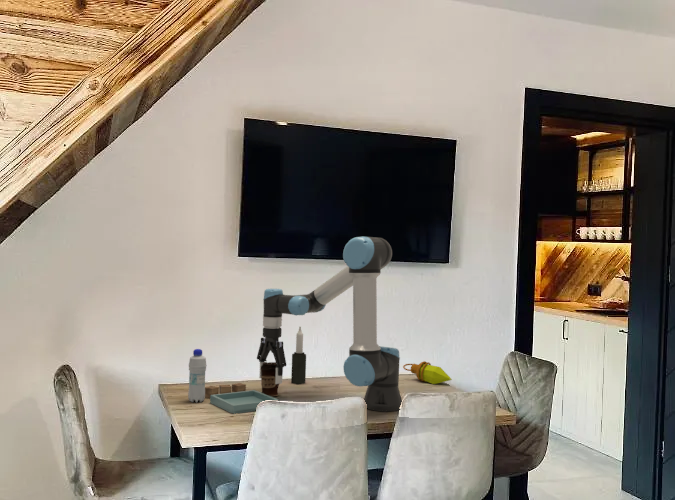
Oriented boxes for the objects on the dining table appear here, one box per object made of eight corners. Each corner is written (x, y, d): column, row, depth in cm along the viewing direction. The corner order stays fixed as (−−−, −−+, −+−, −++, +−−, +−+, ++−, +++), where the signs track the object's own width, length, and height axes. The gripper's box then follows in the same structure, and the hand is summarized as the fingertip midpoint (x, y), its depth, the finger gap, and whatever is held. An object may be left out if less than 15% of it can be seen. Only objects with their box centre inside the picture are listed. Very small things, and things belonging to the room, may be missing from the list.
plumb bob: (456, 385, 306) (408, 371, 320) (457, 366, 303) (409, 353, 318) (447, 392, 299) (398, 377, 313) (448, 374, 296) (399, 359, 311)
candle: (306, 383, 297) (308, 326, 297) (298, 384, 293) (299, 327, 293) (298, 381, 301) (300, 325, 300) (290, 382, 297) (291, 326, 297)
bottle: (196, 404, 253) (198, 351, 253) (183, 401, 256) (185, 349, 256) (209, 401, 258) (210, 348, 258) (196, 398, 262) (197, 347, 262)
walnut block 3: (245, 394, 272) (245, 384, 272) (237, 395, 269) (238, 385, 269) (239, 392, 275) (239, 382, 275) (231, 394, 272) (231, 384, 272)
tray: (279, 407, 251) (279, 399, 251) (233, 414, 240) (233, 405, 240) (254, 397, 267) (254, 390, 267) (210, 402, 255) (210, 395, 255)
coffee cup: (276, 398, 266) (277, 365, 266) (256, 396, 268) (257, 364, 268) (283, 393, 275) (284, 362, 275) (263, 392, 276) (264, 360, 276)
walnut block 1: (218, 397, 266) (218, 387, 266) (211, 399, 262) (212, 388, 262) (210, 395, 268) (210, 385, 268) (203, 397, 264) (204, 387, 264)
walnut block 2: (231, 396, 267) (231, 386, 267) (221, 397, 266) (221, 387, 266) (229, 394, 271) (229, 384, 271) (219, 395, 270) (219, 385, 270)
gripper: (296, 330, 264) (294, 385, 264) (265, 323, 283) (263, 374, 283) (279, 331, 259) (278, 387, 259) (249, 324, 279) (247, 376, 279)
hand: (270, 380), depth 271 cm, fingers open, 12 cm apart
